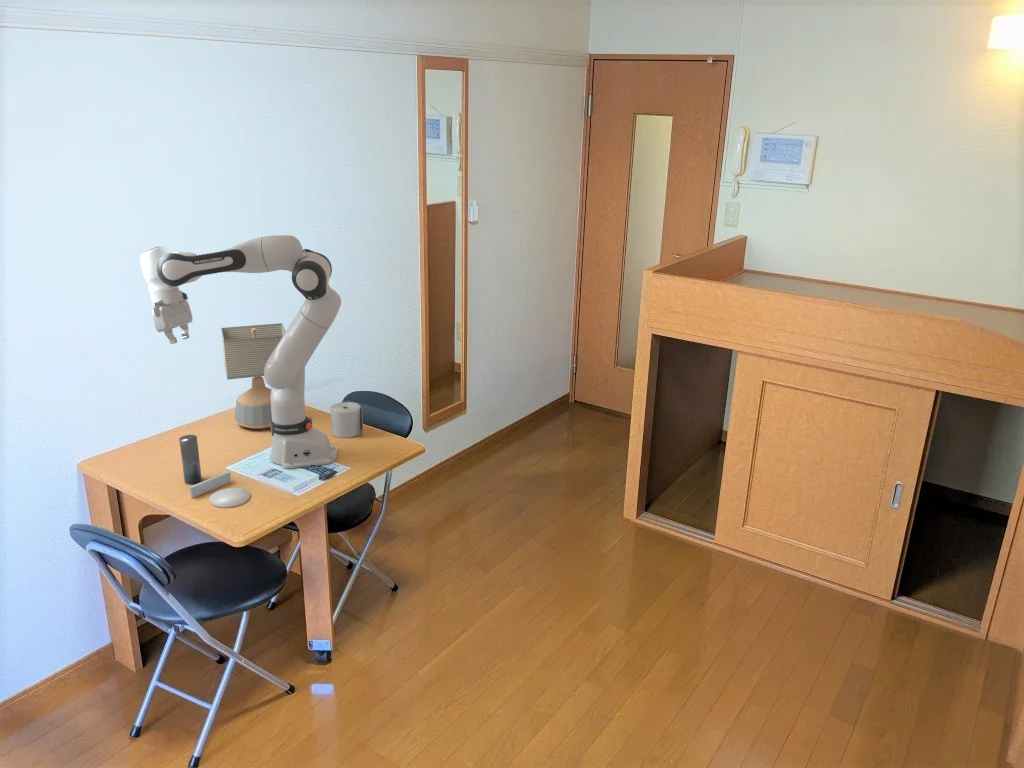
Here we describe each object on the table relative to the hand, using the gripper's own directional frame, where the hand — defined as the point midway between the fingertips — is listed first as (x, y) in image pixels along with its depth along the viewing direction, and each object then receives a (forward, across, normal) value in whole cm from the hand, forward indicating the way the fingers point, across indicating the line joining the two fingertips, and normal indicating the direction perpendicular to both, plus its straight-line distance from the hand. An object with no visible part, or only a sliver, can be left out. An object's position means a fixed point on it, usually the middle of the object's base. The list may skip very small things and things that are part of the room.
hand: (180, 341), depth 267 cm
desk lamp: (+39, +40, -2) cm, 56 cm away
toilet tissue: (+49, +35, -34) cm, 69 cm away
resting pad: (+50, -18, -8) cm, 53 cm away
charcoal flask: (+44, -8, +7) cm, 45 cm away
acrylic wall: (+47, -13, -1) cm, 48 cm away
